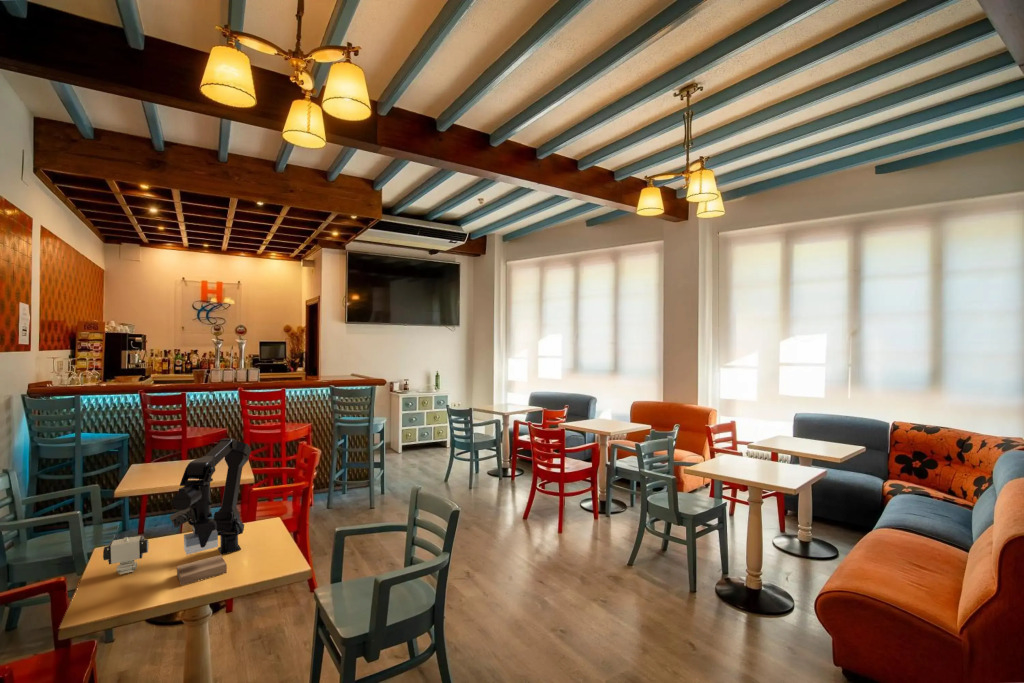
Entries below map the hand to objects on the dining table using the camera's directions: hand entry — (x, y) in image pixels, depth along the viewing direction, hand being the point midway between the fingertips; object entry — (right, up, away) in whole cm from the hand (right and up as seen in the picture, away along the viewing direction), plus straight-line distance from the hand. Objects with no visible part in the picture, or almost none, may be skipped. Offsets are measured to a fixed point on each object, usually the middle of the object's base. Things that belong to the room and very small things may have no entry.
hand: (201, 544), depth 168 cm
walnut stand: (0, -10, 0) cm, 10 cm away
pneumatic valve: (-26, -10, +2) cm, 28 cm away
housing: (0, -1, 0) cm, 1 cm away
